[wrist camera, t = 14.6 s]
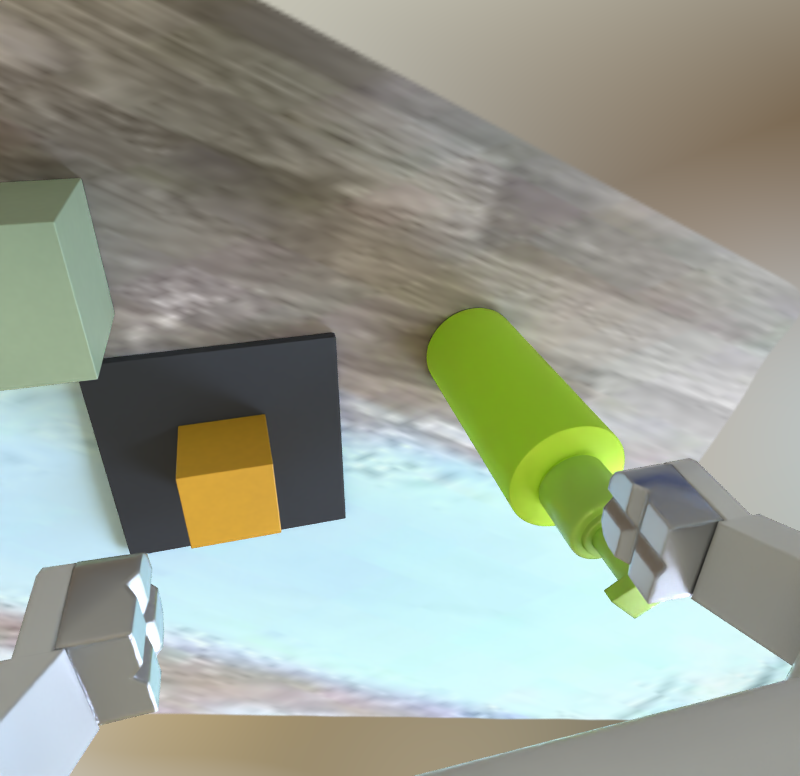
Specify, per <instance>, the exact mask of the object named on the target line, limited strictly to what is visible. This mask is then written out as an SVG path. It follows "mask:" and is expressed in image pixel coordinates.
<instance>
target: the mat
mask: <svg viewBox="0 0 800 776" xmlns="http://www.w3.org/2000/svg"><path fill="white" fill-rule="evenodd" d="M79 383H80V386H81V390H82V393H83V397H84V400H85V403H86V407H87V410H88V413H89V417H90V420H91V423H92V427H93V430H94V434H95V437H96V440H97V444H98V447H99V450H100V454H101V457H102V461H103V464H104V467H105V471H106V474H107V477H108V481H109V484H110V487H111V491H112V494H113V498H114V501H115V504H116V508H117V511H118V514H119V518H120V521H121V524H122V528H123V531H124V535H125V538H126V541H127V545H128V548H129V551H130V554H136V553H142V552H144V553H146V554H147V553H153V552H158V551H164V550H170V549H175V548H181V547H186V546H191V544H190V540H189V536H188V531H187V527H186V523H185V518H184V514H183V509H182V505H181V501H180V496H179V492H178V487H177V483H176V462H177V440H178V426H183V425H190V424H197V423H205V422H212V421H219V420H226V419H234V418H241V417H248V416H255V415H262V414H265V417H266V423H267V429H268V436H269V442H270V448H271V455H272V461H273V468H274V476H275V484H276V492H277V500H278V508H279V516H280V524H281V530H282V529H287V528H293V527H299V526H304V525H310V524H316V523H321V522H327V521H332V520H338V519H344V518H345V499H344V480H343V462H342V444H341V425H340V407H339V389H338V370H337V352H336V337H335V334H334V333H326V334H318V335H309V336H300V337H291V338H282V339H274V340H265V341H256V342H247V343H238V344H230V345H221V346H212V347H203V348H194V349H186V350H177V351H168V352H159V353H150V354H142V355H133V356H124V357H115V358H106V359H103V361H102V365H101V368H100V372H99V376H98V379H95V380H87V381H79Z"/></svg>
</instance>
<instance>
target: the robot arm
mask: <svg viewBox="0 0 800 776" xmlns="http://www.w3.org/2000/svg"><path fill="white" fill-rule="evenodd" d="M608 490H609V491H610V493H611V494H612V496H613V497H612V498H611V500H610V501H609V502H608V503H607V504H606V505H605V506H604V507H603V513H602V519H601V524H602V530H603V536H604V538H605V541H606V543H607V545H608V547H609V549H610V550H611V552H612V553H613V555H614V556H615V557H616V558H618V559H620V560H622V561H623V562H625V563H627V564H629V571H628V576H629V578H630V579H631V580H632V582H633V583H634V585H635V586H636V588H637V589H638V590H639V592H640V593H641V595H642V596H643V597H644V599H645V600H646V602H647V603H648V604H652V603H657V602H663V601H668V600H673V599H679V598H684V597H689V596H692V597H691V599H693V600H694V601H696V602H697V603H699V604H700V605H702V606H703V607H705V608H706V609H708V610H709V611H711V612H712V613H714V614H715V615H717V616H718V617H720V618H721V619H723V620H724V621H726V622H727V623H729V624H730V625H732V626H733V627H735V628H736V629H738V630H739V631H741V632H742V633H744V634H745V635H747V636H748V637H750V638H751V639H753V640H754V641H756V642H757V643H759V644H760V645H762V646H763V647H765V648H766V649H768V650H769V651H771V652H772V653H774V654H775V655H777V656H778V657H780V658H781V659H783V660H784V661H786V662H787V663H789V664H790V665H792V668H791V670H790V672H789V673H788V675H787V677H786V679H785V680H784V681H781V682H777V683H773V684H769V685H765V686H761V687H757V688H753V689H749V690H746V691H742V692H738V693H734V694H730V695H726V696H722V697H718V698H714V699H711V700H707V701H703V702H699V703H695V704H691V705H687V706H683V707H679V708H676V709H672V710H668V711H664V712H660V713H656V714H652V715H648V716H644V717H641V718H637V719H633V720H629V721H625V722H621V723H617V724H613V725H610V726H606V727H602V728H598V729H594V730H591V731H586V732H582V733H578V734H575V735H571V736H567V737H563V738H559V739H556V740H551V741H548V742H544V743H540V744H536V745H532V746H529V747H524V748H520V749H517V750H512V751H509V752H505V753H501V754H497V755H493V756H489V757H485V758H481V759H477V760H474V761H470V762H466V763H462V764H458V765H454V766H450V767H447V768H443V769H439V770H435V771H431V772H427V773H423V774H419V775H415V776H800V531H798V530H795V529H793V528H791V527H788V526H786V525H784V524H781V523H779V522H777V521H774V520H772V519H769V518H767V517H765V516H762V515H760V514H756V515H751V514H750V513H749V512H748V511H747V510H746V509H745V508H744V507H743V506H742V505H741V504H740V503H739V502H738V501H737V500H736V499H735V498H733V497H732V495H731V494H730V493H728V492H727V490H725V489H724V488H723V487H722V486H721V485H720V484H719V483H718V482H717V481H716V480H715V479H714V478H713V477H712V476H711V475H710V474H709V473H708V472H707V471H706V470H705V469H704V468H703V467H702V466H701V465H700V464H699V463H698V462H697V461H695V460H692V459H690V458H688V459H683V460H677V461H672V462H666V463H664V464H656V465H651V466H645V467H639V468H634V469H628V470H623V471H617V472H615V473H614V474H613V475H612V477H611V478H610V481H609V486H608ZM151 575H152V567H151V564H150V561H149V558H148V555H147V554H146V553H144V552H142V553H136V554H129V555H122V556H115V557H108V558H101V559H95V560H88V561H81V562H77V563H73V564H66V565H59V566H52V567H44V568H42V569H41V571H40V572H39V573H38V575H37V576H36V578H35V581H34V585H33V588H32V591H31V595H30V598H29V602H28V605H27V608H26V612H25V615H24V618H23V622H22V625H21V628H20V632H19V635H18V638H17V642H16V645H15V649H14V652H13V655H12V659H9V660H4V661H0V776H69V775H70V773H71V772H72V770H73V769H74V767H75V766H76V764H77V763H78V761H79V760H80V758H81V756H82V755H83V753H84V752H85V750H86V749H87V747H88V746H89V744H90V743H91V741H92V740H93V738H94V737H95V735H96V733H97V732H98V730H99V727H98V726H99V725H103V724H107V723H111V722H115V721H119V720H123V719H127V718H131V717H136V716H139V715H144V714H148V713H152V712H156V711H158V706H159V694H160V681H161V670H160V666H159V663H158V660H157V657H156V655H157V654H158V653H159V652H160V650H161V649H162V648H163V639H164V621H163V609H162V603H161V598H160V594H159V591H158V588H157V587H155V586H153V585H152V584H151Z"/></svg>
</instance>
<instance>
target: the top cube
mask: <svg viewBox="0 0 800 776" xmlns="http://www.w3.org/2000/svg"><path fill="white" fill-rule="evenodd" d="M176 483H177V487H178V492H179V496H180V501H181V505H182V509H183V514H184V518H185V523H186V527H187V531H188V536H189V540H190V544H191V548H197V547H203V546H208V545H214V544H219V543H225V542H231V541H236V540H242V539H247V538H253V537H259V536H264V535H270V534H275V533H281V524H280V516H279V508H278V500H277V492H276V484H275V476H274V468H273V461H272V455H271V448H270V442H269V436H268V429H267V423H266V417H265V414H262V415H255V416H248V417H241V418H234V419H226V420H219V421H212V422H205V423H197V424H190V425H183V426H178V440H177V462H176Z"/></svg>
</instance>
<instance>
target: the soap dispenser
mask: <svg viewBox="0 0 800 776" xmlns="http://www.w3.org/2000/svg"><path fill="white" fill-rule="evenodd" d="M427 366H428V369H429V372H430V374H431V375H432V377H433V379H434V380H435V382H436V384H437V385H438V387H439V389H440V390H441V392H442V394H443V395H444V397H445V399H446V400H447V402H448V403H449V405H450V407H451V408H452V410H453V412H454V413H455V415H456V417H457V418H458V420H459V422H460V423H461V425H462V427H463V428H464V430H465V431H466V433H467V435H468V436H469V438H470V440H471V441H472V443H473V445H474V446H475V448H476V450H477V451H478V453H479V455H480V456H481V458H482V459H483V461H484V463H485V464H486V466H487V468H488V469H489V471H490V473H491V474H492V476H493V478H494V479H495V481H496V483H497V484H498V486H499V487H500V489H501V491H502V492H503V494H504V496H505V497H506V499H507V501H508V502H509V504H510V506H511V507H512V509H513V510H514V512H515V513H516V514H517V515H518V516H519V517H520V518H521V519H523V520H524V521H526V522H528V523H531V524H534V525H539V526H556V527H557V528H558V530H559V531H560V533H561V534H562V536H563V537H564V539H565V540H566V542H567V543H568V545H569V546H570V548H571V549H572V550H573V552H575V553H576V554H577V555H578V556H580V557H583V558H587V559H599V558H602V559H603V560H604V561H605V563H606V564H607V566H608V567H609V568H610V570H611V571H612V573H613V574H614V575H615V577H616V578H617V580H618V581H617V582H615V583H614V584H612V585H611V586H610V587H608V588H607V589H605V590H604V591H605V593H606V594H607V596H608V597H609V599H610V600H611V602H613V603H614V604H615V605H617V606H618V607H619V608H621V609H622V610H624V611H625V612H626V613H628V614H629V615H631V616H632V617H633V618H637V617H638V616H640V615H641V614H643V613H645V612H646V611H648V610H649V609H651V608H652V607H654V606H656V605H657V604H659V603H660V602H657V603H652V604H648V603H647V602H646V600H645V599H644V597H643V596H642V595H641V593H640V592H639V590H638V589H637V588H636V586H635V585H634V583H633V582H632V580H631V579H630V578H629V576H628V571H629V564H627V563H625V562H623V561H622V560H620V559H618V558H616V557H615V556H614V555H613V553H612V552H611V550H610V549H609V547H608V545H607V543H606V541H605V538H604V536H603V530H602V524H601V519H602V513H603V507H604V506H605V505H606V504H607V503H608V502H609V501H610V500H611V498H612V497H613V496H612V494H611V493H610V491H609V490H608V486H609V481H610V478H611V477H612V475H613V474H614V473H615V472H617V471H623V468H624V461H625V456H624V450H623V447H622V444H621V442H620V441H619V439H618V438H617V437H616V436H615V435H614V434H613V432H612V431H611V430H610V429H609V428H608V427H607V426H606V425H605V424H604V423H603V422H602V421H601V420H600V419H599V418H598V417H597V415H596V414H595V413H594V412H593V411H592V410H591V409H590V408H589V407H588V406H587V405H586V404H585V403H584V402H583V401H582V399H581V398H580V397H579V396H578V395H577V394H576V393H575V392H574V391H573V390H572V389H571V388H570V387H569V386H568V385H567V384H566V382H565V381H564V380H563V379H562V378H561V377H560V376H559V375H558V374H557V373H556V372H555V371H554V370H553V369H552V368H551V366H550V365H549V364H548V363H547V362H546V361H545V360H544V359H543V358H542V357H541V356H540V355H539V354H538V353H537V352H536V350H535V349H534V348H533V347H532V346H531V345H530V344H529V343H528V342H527V341H526V340H525V339H524V338H523V337H522V336H521V335H520V333H519V332H518V331H517V330H516V329H515V328H514V327H513V326H512V325H511V324H510V323H509V322H508V321H507V320H506V319H505V318H504V317H503V316H502V315H501V314H499V313H497V312H495V311H493V310H490V309H485V308H473V309H467V310H464V311H461V312H459V313H456V314H455V315H453V316H451V317H450V318H448V319H447V320H446V321H444V322H443V323H442V324H441V325H440V326H439V327H438V329H437V330H436V331H435V333H434V334H433V336H432V338H431V340H430V342H429V345H428V349H427Z"/></svg>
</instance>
